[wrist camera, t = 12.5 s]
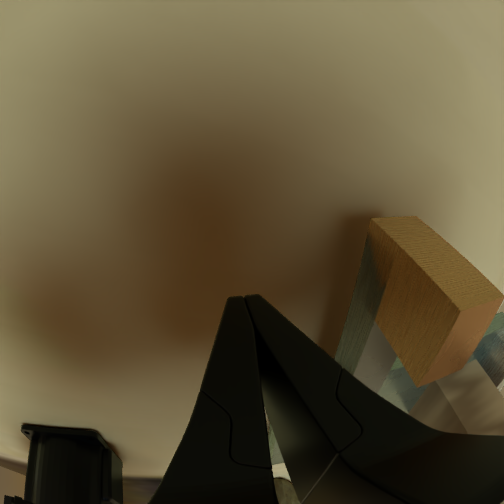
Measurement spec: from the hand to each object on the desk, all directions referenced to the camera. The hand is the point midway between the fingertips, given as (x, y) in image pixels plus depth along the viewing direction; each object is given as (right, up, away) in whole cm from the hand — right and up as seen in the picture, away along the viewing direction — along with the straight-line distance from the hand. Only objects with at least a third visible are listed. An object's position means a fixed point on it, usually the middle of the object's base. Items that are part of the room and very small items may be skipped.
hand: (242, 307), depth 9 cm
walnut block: (+15, -9, +12) cm, 22 cm away
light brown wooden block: (+5, -6, +7) cm, 10 cm away
